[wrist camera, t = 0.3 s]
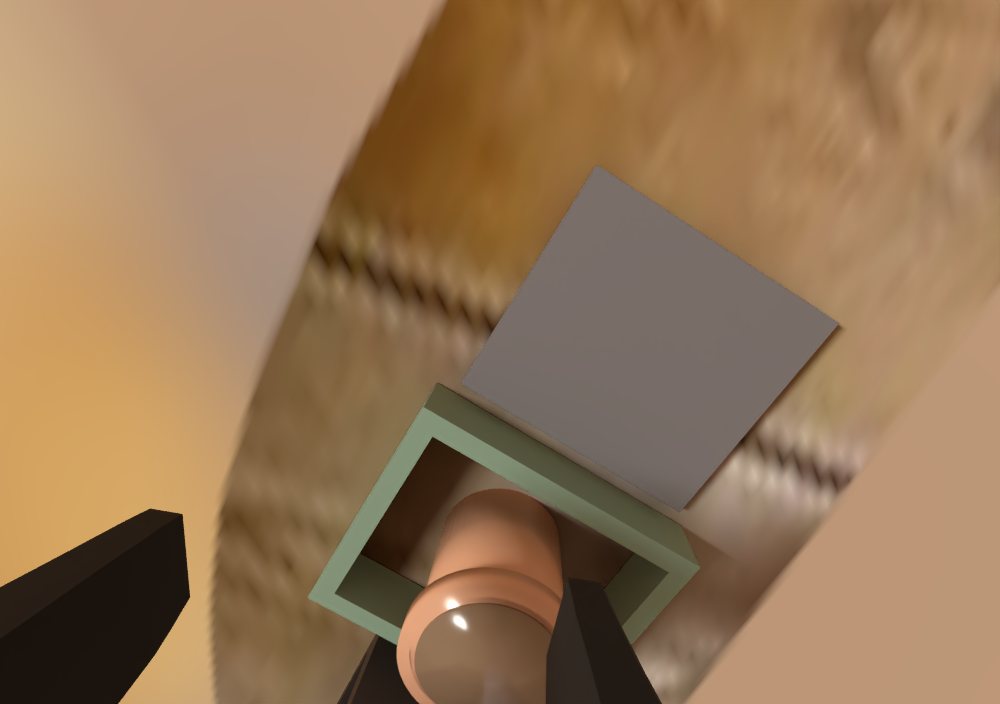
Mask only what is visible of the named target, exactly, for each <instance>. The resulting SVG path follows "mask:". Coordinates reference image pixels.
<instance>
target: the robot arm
mask: <svg viewBox="0 0 1000 704" xmlns="http://www.w3.org/2000/svg"><path fill="white" fill-rule="evenodd" d="M183 526H184V525H183V515H182V514H179V513H172V512H167V511H161V510H155V509H149V510H147V511H144V512H143V513H140V514H138V515H136V516H134V517H132V518H130V519H128V520H126V521H125V522H123V523H121V524H119V525H117V526H115V527H113V528H111V529H109V530H107V531H105V532H104V533H102V534H100V535H98V536H96V537H94V538H92V539H90V540H89V541H87V542H85V543H83V544H81V545H79V546H78V547H76V548H74V549H72V550H70V551H68V552H66V553H64V554H62V555H61V556H59V557H57V558H55V559H53V560H51V561H49V562H47V563H45V564H43V565H42V566H40V567H38V568H36V569H34V570H32V571H30V572H28V573H26V574H24V575H23V576H21V577H19V578H17V579H15V580H13V581H11V582H10V583H7V584H5V585H4V586H2V587H0V704H118V703H119V702H120V700H121V699H122V698H123V697H124V695H125V694H126V692H127V691H128V690H129V688H130V687H131V686H132V685H133V683H134V682H135V681H136V679H137V678H138V677H139V675H140V674H141V673H142V671H143V670H144V669H145V667H146V666H147V665H148V663H149V662H150V661H151V659H152V658H153V657H154V655H155V654H156V652H157V651H158V649H159V648H160V646H161V644H162V642H163V641H164V639H165V638H166V636H167V635H168V633H169V632H170V630H171V628H172V627H173V625H174V623H175V622H176V620H177V618H178V616H179V615H180V613H181V612H182V609H183V608H184V606H185V605H186V603H187V601H188V600H189V598H190V591H189V581H188V570H187V558H186V548H185V536H184V527H183ZM546 704H662V703H661V701H660V699H659V698H658V696H657V694H656V692H655V690H654V688H653V687H652V685H651V683H650V681H649V679H648V677H647V676H646V674H645V672H644V670H643V668H642V666H641V664H640V662H639V660H638V658H637V656H636V654H635V652H634V650H633V648H632V646H631V644H630V642H629V640H628V638H627V636H626V634H625V632H624V630H623V628H622V626H621V624H620V622H619V620H618V618H617V615H616V613H615V611H614V609H613V607H612V605H611V603H610V600H609V598H608V596H607V594H606V591H605V589H604V588H603V586H602V585H601V584H600V583H597V582H591V581H584V580H578V579H572V578H567V582H566V585H565V589H564V593H563V597H562V600H561V604H560V608H559V611H558V615H557V619H556V622H555V626H554V630H553V633H552V637H551V641H550V645H549V648H548V652H547V656H546Z"/></svg>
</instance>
